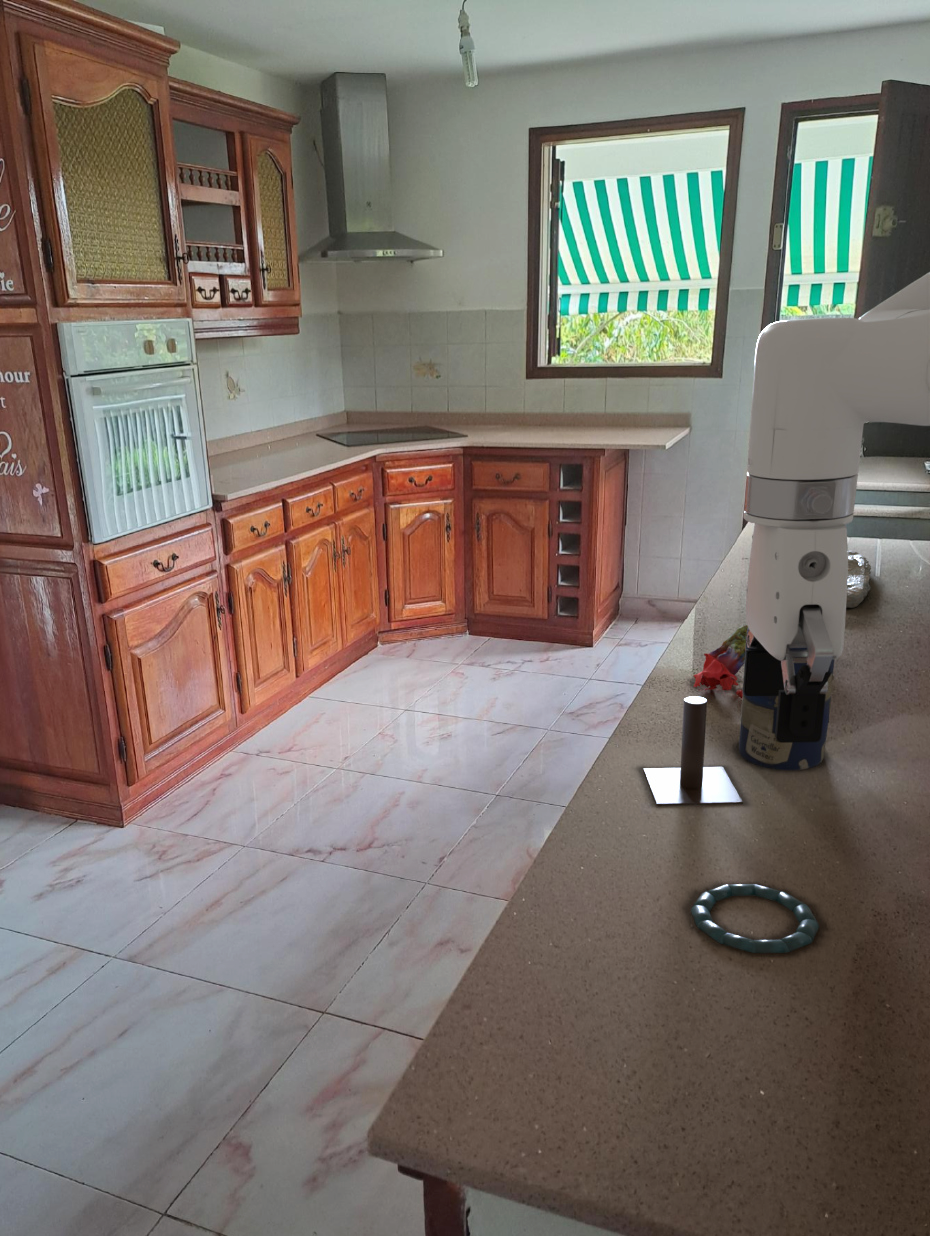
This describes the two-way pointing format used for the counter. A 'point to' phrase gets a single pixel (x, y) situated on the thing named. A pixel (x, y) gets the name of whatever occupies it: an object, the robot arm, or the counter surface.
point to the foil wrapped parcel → (857, 579)
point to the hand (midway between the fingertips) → (779, 716)
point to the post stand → (692, 767)
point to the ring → (784, 945)
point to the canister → (760, 732)
